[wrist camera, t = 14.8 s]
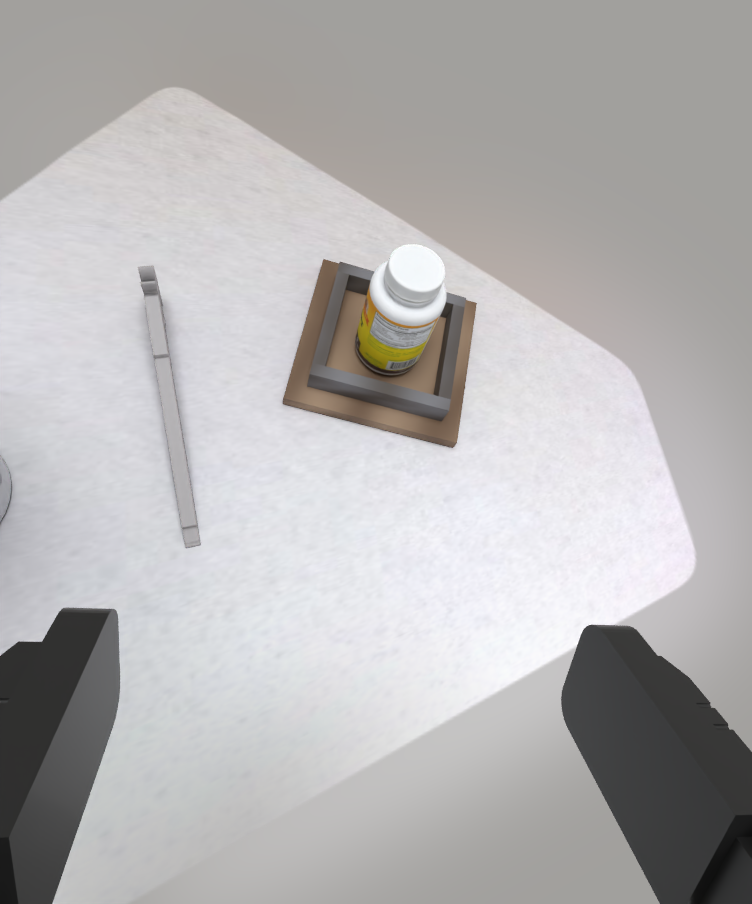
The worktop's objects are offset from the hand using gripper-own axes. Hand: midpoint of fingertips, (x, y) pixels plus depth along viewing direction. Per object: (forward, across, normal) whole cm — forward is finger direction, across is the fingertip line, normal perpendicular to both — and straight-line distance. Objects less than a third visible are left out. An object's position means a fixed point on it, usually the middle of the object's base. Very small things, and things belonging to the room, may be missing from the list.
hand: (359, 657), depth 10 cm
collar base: (+40, -7, +4) cm, 41 cm away
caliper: (+35, +9, +9) cm, 37 cm away
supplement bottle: (+39, -7, +3) cm, 40 cm away
